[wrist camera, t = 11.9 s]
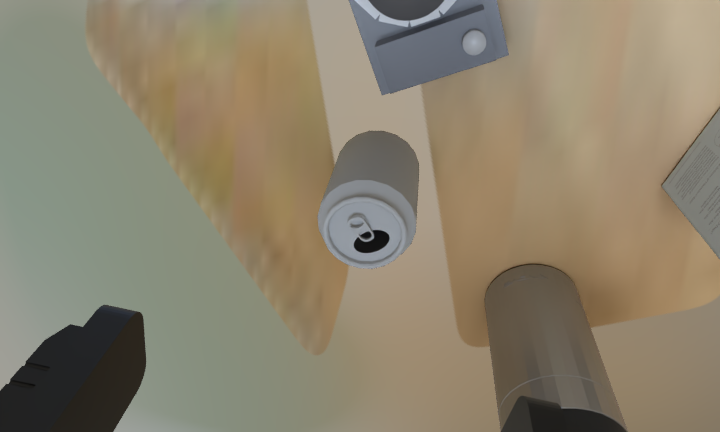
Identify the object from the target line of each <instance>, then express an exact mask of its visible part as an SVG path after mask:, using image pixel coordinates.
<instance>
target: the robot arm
mask: <svg viewBox="0 0 720 432" xmlns="http://www.w3.org/2000/svg"><path fill="white" fill-rule="evenodd" d="M485 310H486V318H487V326H488V335H489V343H490V351H491V359H492V367H493V375H494V383H495V391H496V399H497V407H498V415H499V421H500V429H501V432H628V431H627V428H626V425H625V422H624V419H623V417H622V414H621V411H620V408H619V406H618V403H617V400H616V398H615V395H614V392H613V389H612V387H611V384H610V381H609V378H608V376H607V373H606V370H605V367H604V364H603V362H602V359H601V356H600V353H599V350H598V348H597V345H596V343H595V339H594V337H593V334H592V331H591V328H590V325H589V323H588V320H587V317H586V314H585V311H584V308H583V305H582V303H581V300H580V297H579V294H578V292H577V289H576V287H575V285H574V283H573V281H572V280H571V279H570V278H569V277H568V276H567V275H566V274H564V273H563V272H561V271H560V270H557V269H555V268H552V267H549V266H544V265H524V266H519V267H516V268H512V269H510V270H508V271H506V272H504V273H502V274H501V275H500V276H498V277H497V278H496V279H495V280H494V281H493V282H492V283H491V284H490V286H489V288H488V290H487V292H486V296H485ZM145 367H146V352H145V337H144V323H143V316H142V314H141V313H140V312H137V311H132V310H127V309H123V308H118V307H113V306H109V305H103V306H101V307H100V308H99V309H98V310H97V311H96V312H95V313H94V314H93V316H92V317H91V318H90V319H89V320H88V322H87V323H86V324H85V325H84V327H80V326H75V325H69V326H67V327H65V328H64V329H62V330H61V331H59V332H57V333H56V334H55V335H52V336H51V337H49V338H48V339H46V340H45V341H44V342H43V343H42V344H41V345H40V346H39V347H38V348H37V350H36V351H35V352H34V353H33V354H32V355H31V356H30V358H29V359H28V360H27V361H26V364H25V366H22V367H21V368H20V369H19V370H18V371H17V372H16V374H15V375H14V376H13V377H12V378H11V380H10V383H9V384H6V385H5V386H4V387H3V389H1V391H0V432H113V431H114V429H115V428H116V426H117V424H118V423H119V421H120V419H121V418H122V416H123V414H124V413H125V411H126V409H127V408H128V406H129V404H130V403H131V401H132V399H133V397H134V396H135V394H136V392H137V391H138V389H139V387H140V385H141V381H142V379H143V376H144V372H145Z"/></svg>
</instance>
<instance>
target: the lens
mask: <svg viewBox="0 0 720 432" xmlns="http://www.w3.org/2000/svg"><path fill="white" fill-rule="evenodd" d="M443 1H444V0H369V2H370V3H371V4H372V5H373V6H374V7H375V8H376V9H377V10H378V11H379V12H380V13H382V14H383V15H385V16H387V17H389V18H392V19H395V20H401V21H411V20H416V19H420V18H423V17H425V16H427V15H429V14H430V13H432V12H433V11H434V10H436V9H437V8H438V7H439V6H440V5H441V4H442V3H443Z"/></svg>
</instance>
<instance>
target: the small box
mask: <svg viewBox="0 0 720 432" xmlns="http://www.w3.org/2000/svg"><path fill="white" fill-rule="evenodd" d="M662 188H663V189H664V190H665V191H666V193H667V194H668V195H669V196H670V198H671V199H672V200H673V202H674V203H675V204H676V205H677V207H678V208H679V209H680V211H681V212H682V213H683V214H684V216H685V217H686V218H687V219H688V221H689V222H690V223H691V224H692V225H693V227H694V228H695V229H696V230H697V232H698V233H699V234H700V235H701V236H702V238H703V239H704V240H705V241H706V243H707V244H708V245H709V246H710V248H711V249H712V250H713V252H714V253H715V254H716V255H717V257H718V258H719V259H720V109H719V110H718V112H717V113H716V114H715V116H714V117H713V118H712V120H711V121H710V122H709V124H708V125H707V126H706V127H705V129H704V130H703V131H702V133H701V134H700V135H699V137H698V138H697V139H696V141H695V142H694V143H693V145H692V146H691V147H690V149H689V150H688V151H687V153H686V154H685V155H684V157H683V158H682V159H681V161H680V162H679V164H678V165H677V166H676V168H675V169H674V170H673V172H672V173H671V174H670V176H669V177H668V178H667V180H666V181H665V182H664V184H663V185H662Z"/></svg>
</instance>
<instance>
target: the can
mask: <svg viewBox="0 0 720 432" xmlns="http://www.w3.org/2000/svg"><path fill="white" fill-rule="evenodd" d="M418 181H419V163H418V160H417V157H416V154H415V152H414V150H413V149H412V148H411V147H410V145H409V144H408V143H407V142H406V141H404V140H403V139H401V138H400V137H398V136H397V135H395V134H392V133H388V132H385V131H368V132H365V133H362V134H358V135H356V136H355V137H354V138H352V139H351V140H349V141H348V142H347V143H346V144H345V146H344V147H343V149H342V150H341V151H340V153H339V156H338V159H337V162H336V164H335V167H334V170H333V173H332V175H331V178H330V181H329V183H328V186H327V189H326V192H325V194H324V197H323V200H322V202H321V206H320V209H319V213H318V225H319V231H320V233H321V235H322V237H323V239H324V241H325V243H326V245H327V247H328V249H329V251H330V252H331V253H332V254H333V255H334V256H335V257H336V258H337V259H339V260H341V261H342V262H344V263H346V264H347V265H350V266H354V267H357V268H368V269H373V268H377V267H382V266H385V265H387V264H389V263H390V262H392V261H394V260H395V259H396V258H397V257H398V256H399V255H401V254H402V253H403V252H404V251H405V250H406V249H407V248H408V247H409V245H410V244H411V242H412V240H413V237H414V235H415V232H416V217H417V200H418Z"/></svg>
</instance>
